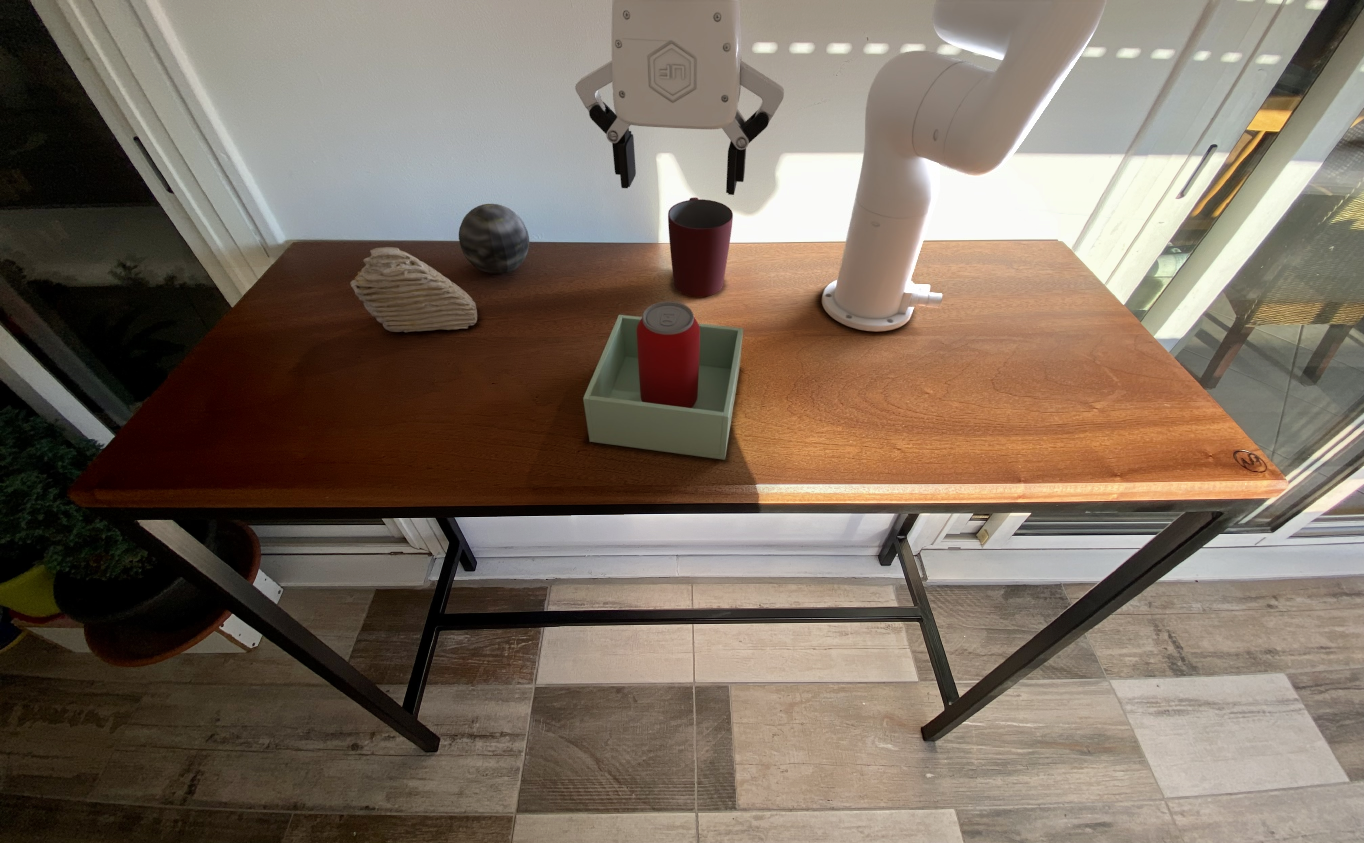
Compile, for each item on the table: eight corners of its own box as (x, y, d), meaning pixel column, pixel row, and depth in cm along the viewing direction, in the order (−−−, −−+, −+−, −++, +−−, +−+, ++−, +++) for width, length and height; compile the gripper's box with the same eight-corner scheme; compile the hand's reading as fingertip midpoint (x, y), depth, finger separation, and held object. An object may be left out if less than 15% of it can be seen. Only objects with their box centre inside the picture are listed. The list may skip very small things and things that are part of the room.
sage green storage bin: (739, 370, 75) (743, 328, 70) (724, 459, 65) (728, 416, 60) (622, 356, 77) (618, 314, 72) (589, 441, 66) (582, 398, 62)
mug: (663, 259, 94) (662, 191, 86) (719, 256, 95) (722, 188, 87) (672, 302, 86) (671, 231, 78) (732, 298, 87) (738, 227, 79)
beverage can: (699, 383, 72) (703, 299, 64) (695, 422, 68) (697, 337, 59) (644, 379, 73) (640, 295, 64) (636, 418, 68) (630, 333, 60)
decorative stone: (524, 289, 88) (511, 225, 81) (458, 285, 88) (439, 221, 81) (541, 254, 95) (530, 193, 88) (480, 251, 96) (464, 190, 88)
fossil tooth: (476, 340, 81) (359, 337, 79) (482, 311, 85) (371, 308, 83) (462, 267, 73) (330, 262, 71) (470, 240, 77) (345, 234, 75)
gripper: (544, -42, 41) (577, 198, 53) (796, -38, 39) (771, 210, 51) (574, -59, 46) (599, 163, 59) (799, -56, 44) (775, 173, 56)
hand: (679, 185), depth 55 cm, fingers open, 9 cm apart
